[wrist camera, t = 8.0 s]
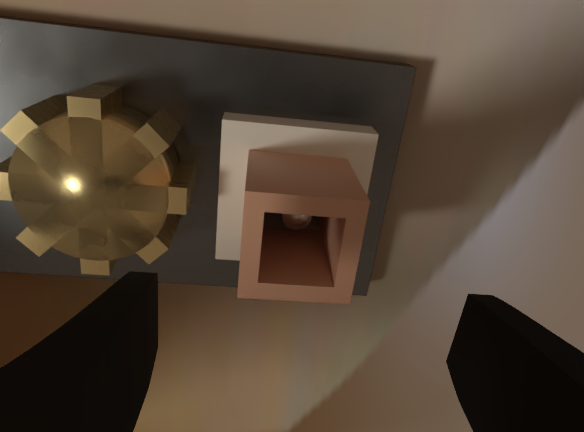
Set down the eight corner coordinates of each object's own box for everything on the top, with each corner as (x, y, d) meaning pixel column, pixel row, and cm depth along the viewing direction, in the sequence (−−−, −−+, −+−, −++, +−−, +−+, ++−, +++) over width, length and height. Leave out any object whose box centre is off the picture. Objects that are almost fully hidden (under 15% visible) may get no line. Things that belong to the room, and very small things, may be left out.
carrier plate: (-143, 249, 20) (-235, 304, 16) (-223, -11, 16) (-371, -15, 12) (362, 283, 22) (381, 339, 18) (408, 64, 18) (446, 80, 14)
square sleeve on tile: (217, 244, 19) (203, 322, 15) (224, 111, 17) (210, 153, 12) (348, 253, 20) (374, 331, 15) (371, 126, 18) (411, 171, 13)
